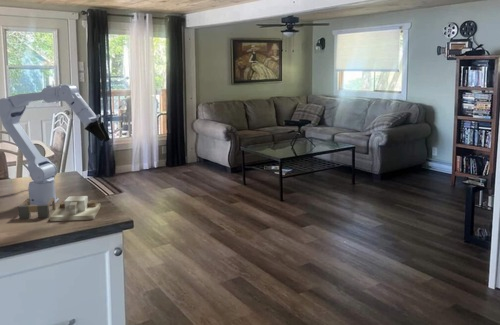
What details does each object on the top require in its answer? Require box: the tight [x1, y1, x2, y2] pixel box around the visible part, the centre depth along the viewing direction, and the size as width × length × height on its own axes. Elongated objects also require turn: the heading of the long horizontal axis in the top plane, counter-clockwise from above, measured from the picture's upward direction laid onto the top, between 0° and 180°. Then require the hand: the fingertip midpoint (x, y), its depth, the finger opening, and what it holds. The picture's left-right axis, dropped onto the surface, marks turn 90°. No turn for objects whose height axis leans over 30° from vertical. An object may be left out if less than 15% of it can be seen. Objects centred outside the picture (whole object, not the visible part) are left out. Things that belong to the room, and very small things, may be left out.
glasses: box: [17, 197, 56, 220], centre depth 177 cm, size 10×11×4 cm
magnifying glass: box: [33, 143, 47, 157], centre depth 213 cm, size 9×2×20 cm, turn 126°
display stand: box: [49, 195, 101, 222], centre depth 177 cm, size 15×15×6 cm
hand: (105, 140), depth 181 cm, fingers open, 7 cm apart
